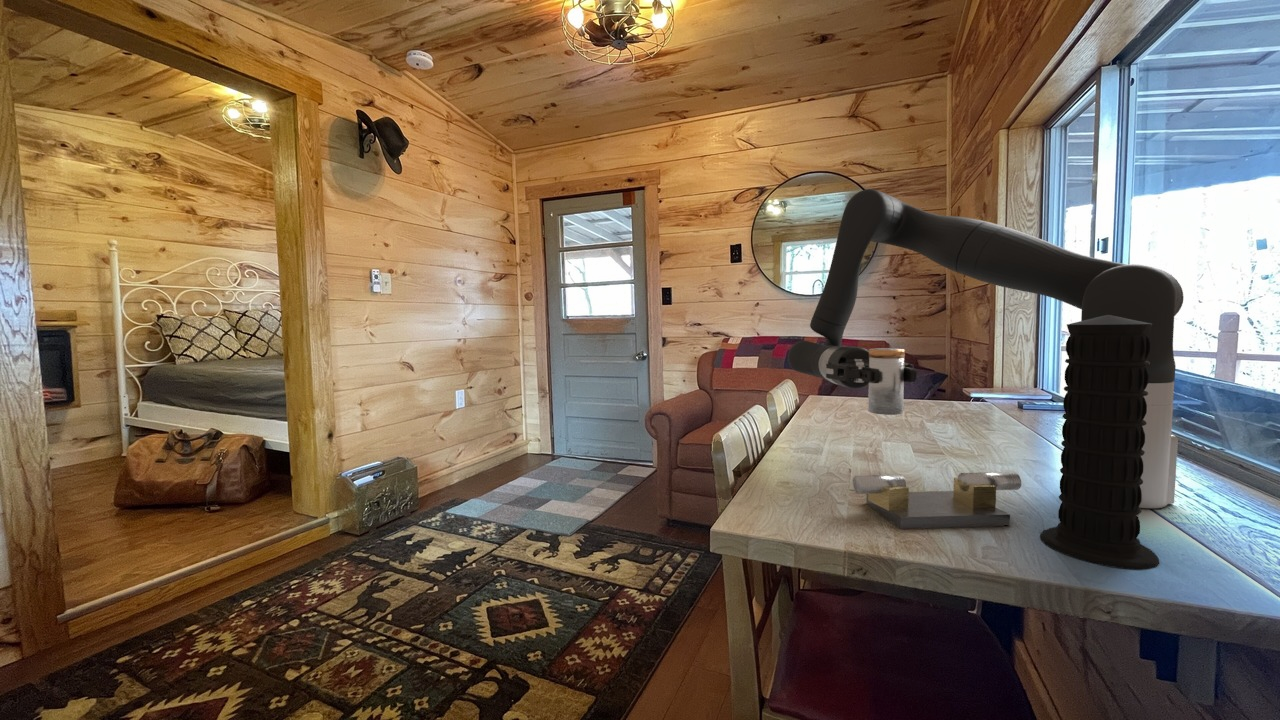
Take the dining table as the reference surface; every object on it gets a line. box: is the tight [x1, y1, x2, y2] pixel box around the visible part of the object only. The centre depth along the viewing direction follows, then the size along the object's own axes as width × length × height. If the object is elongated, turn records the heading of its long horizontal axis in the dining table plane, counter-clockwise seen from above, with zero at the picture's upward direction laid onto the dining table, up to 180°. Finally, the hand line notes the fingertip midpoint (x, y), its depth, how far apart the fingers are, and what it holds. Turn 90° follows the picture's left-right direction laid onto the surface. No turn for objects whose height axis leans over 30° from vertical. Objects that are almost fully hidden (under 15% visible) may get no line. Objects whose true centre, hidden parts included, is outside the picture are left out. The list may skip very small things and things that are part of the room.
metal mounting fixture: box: [852, 471, 1022, 530], centre depth 67 cm, size 22×9×6 cm, turn 91°
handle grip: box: [1039, 315, 1161, 570], centre depth 56 cm, size 10×26×10 cm
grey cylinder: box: [867, 347, 906, 416], centre depth 79 cm, size 5×5×10 cm
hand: (895, 376), depth 76 cm, fingers closed on grey cylinder, 5 cm apart
